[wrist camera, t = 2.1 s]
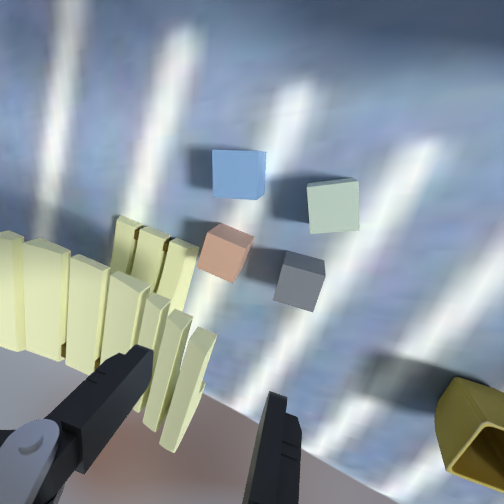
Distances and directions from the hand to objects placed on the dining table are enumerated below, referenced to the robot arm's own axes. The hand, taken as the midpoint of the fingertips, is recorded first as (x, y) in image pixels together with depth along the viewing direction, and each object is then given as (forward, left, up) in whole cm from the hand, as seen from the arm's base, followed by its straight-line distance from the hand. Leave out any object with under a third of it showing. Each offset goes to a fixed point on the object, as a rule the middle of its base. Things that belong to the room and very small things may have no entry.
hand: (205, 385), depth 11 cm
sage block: (-5, +5, -26) cm, 26 cm away
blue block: (-6, -6, -26) cm, 27 cm away
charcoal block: (+5, +4, -26) cm, 26 cm away
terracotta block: (+4, -6, -26) cm, 27 cm away
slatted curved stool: (+13, -18, -26) cm, 34 cm away
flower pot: (+16, +30, -26) cm, 43 cm away
